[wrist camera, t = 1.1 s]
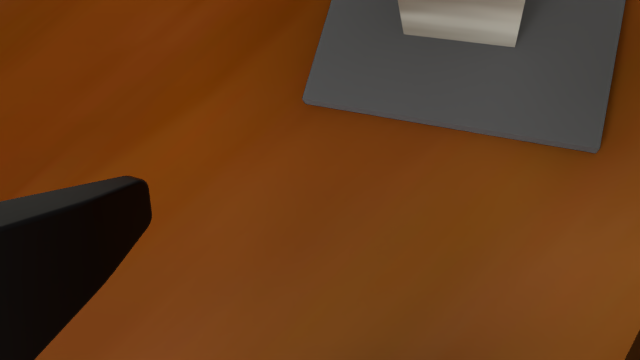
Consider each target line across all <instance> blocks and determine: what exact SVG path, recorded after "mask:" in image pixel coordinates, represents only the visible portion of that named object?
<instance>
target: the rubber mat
mask: <svg viewBox="0 0 640 360" xmlns="http://www.w3.org/2000/svg"><path fill="white" fill-rule="evenodd" d="M625 1H626V0H525V4H524V9H523V13H522V18H521V22H520V27H519V31H518V36H517V40H516V45H515V47H507V46H499V45H490V44H482V43H474V42H465V41H457V40H448V39H440V38H431V37H423V36H415V35H406V34H404V33H403V27H402V22H401V16H400V10H399V5H398V0H332V1H331V4H330V7H329V11H328V14H327V17H326V21H325V24H324V27H323V31H322V34H321V37H320V41H319V44H318V47H317V51H316V54H315V57H314V61H313V64H312V67H311V71H310V74H309V77H308V81H307V84H306V87H305V91H304V94H303V97H302V99H303V101H304V102H305V104H310V105H316V106H322V107H328V108H334V109H339V110H345V111H351V112H357V113H363V114H369V115H375V116H380V117H386V118H392V119H398V120H404V121H410V122H416V123H421V124H427V125H433V126H439V127H445V128H451V129H456V130H462V131H468V132H474V133H480V134H486V135H492V136H497V137H503V138H509V139H515V140H521V141H527V142H533V143H538V144H544V145H550V146H556V147H562V148H568V149H573V150H579V151H585V152H591V153H596V152H597V151H598V150H599V149H600V144H601V138H602V132H603V127H604V121H605V115H606V110H607V104H608V98H609V92H610V87H611V81H612V75H613V69H614V64H615V58H616V52H617V47H618V41H619V35H620V29H621V24H622V18H623V12H624V6H625Z"/></svg>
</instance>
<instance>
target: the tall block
mask: <svg viewBox="0 0 640 360" xmlns="http://www.w3.org/2000/svg"><path fill="white" fill-rule="evenodd" d="M524 4H525V0H398V5H399V10H400V16H401V22H402V27H403V33H404V34H406V35H415V36H423V37H431V38H440V39H448V40H457V41H465V42H474V43H482V44H490V45H499V46H507V47H515V45H516V40H517V36H518V31H519V27H520V22H521V18H522V13H523V9H524Z"/></svg>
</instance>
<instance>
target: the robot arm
mask: <svg viewBox="0 0 640 360" xmlns="http://www.w3.org/2000/svg"><path fill="white" fill-rule="evenodd" d="M151 218H152V211H151V203H150V195H149V188H148V185H147V183H146V182H145V181H144V180H142V179H139V178H135V177H132V176H122V177H117V178H112V179H107V180H103V181H98V182H93V183H88V184H83V185H78V186H74V187H69V188H64V189H59V190H54V191H50V192H45V193H40V194H35V195H30V196H25V197H21V198H16V199H11V200H6V201H1V202H0V360H34V359H35V358H36V357H37V356H38V355H39V354H40V353H41V352H42V351H43V350H44V349H45V348H46V346H47V345H48V344H49V343H50V342H51V341H52V340H53V339H54V338H55V337H56V336H57V335H58V334H59V332H60V331H61V330H62V329H63V328H64V327H65V326H66V325H67V324H68V323H69V322H70V321H71V319H72V318H73V317H74V316H75V315H76V314H77V313H78V312H79V311H80V310H81V309H82V308H83V307H84V305H85V304H86V303H87V302H88V301H89V300H90V299H91V298H92V297H93V296H94V295H95V294H96V292H97V291H98V290H99V289H100V288H101V287H102V286H103V285H104V283H105V282H106V281H107V280H108V279H109V277H110V276H111V275H112V274H113V272H114V271H115V270H116V268H117V267H118V266H119V264H120V263H121V262H122V261H123V259H124V258H125V257H126V255H127V254H128V253H129V251H130V250H131V249H132V247H133V246H134V245H135V243H136V242H137V241H138V239H139V238H140V237H141V236H142V234H143V233H144V232H145V230H146V229H147V228H148V226H149V224H150V222H151ZM625 360H640V330H639V332H638V334H637V336H636V338H635V340H634V342H633V344H632V346H631V348H630V350H629V352H628V354H627V356H626V358H625Z"/></svg>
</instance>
